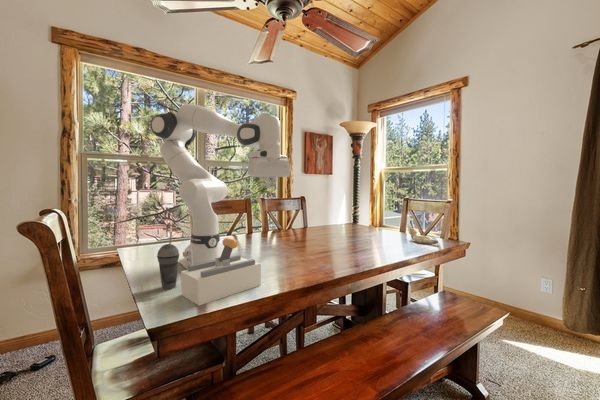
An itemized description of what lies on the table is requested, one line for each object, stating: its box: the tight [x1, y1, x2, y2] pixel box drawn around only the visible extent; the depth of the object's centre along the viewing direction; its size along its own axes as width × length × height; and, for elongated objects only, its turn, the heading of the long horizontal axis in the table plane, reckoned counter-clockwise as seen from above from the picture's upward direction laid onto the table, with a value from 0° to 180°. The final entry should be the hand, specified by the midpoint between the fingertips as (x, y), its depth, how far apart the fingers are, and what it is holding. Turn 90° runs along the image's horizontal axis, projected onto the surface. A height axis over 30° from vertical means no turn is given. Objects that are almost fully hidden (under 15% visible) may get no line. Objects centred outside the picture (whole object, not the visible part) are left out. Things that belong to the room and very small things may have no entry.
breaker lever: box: [219, 237, 239, 262], centre depth 100 cm, size 5×3×8 cm, turn 46°
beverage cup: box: [156, 231, 180, 290], centre depth 101 cm, size 7×7×20 cm
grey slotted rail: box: [187, 254, 256, 278], centre depth 99 cm, size 11×20×2 cm, turn 136°
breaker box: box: [180, 257, 262, 307], centre depth 99 cm, size 12×24×11 cm, turn 136°
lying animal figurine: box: [407, 224, 439, 245], centre depth 177 cm, size 9×21×10 cm, turn 31°
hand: (270, 187), depth 118 cm, fingers closed
